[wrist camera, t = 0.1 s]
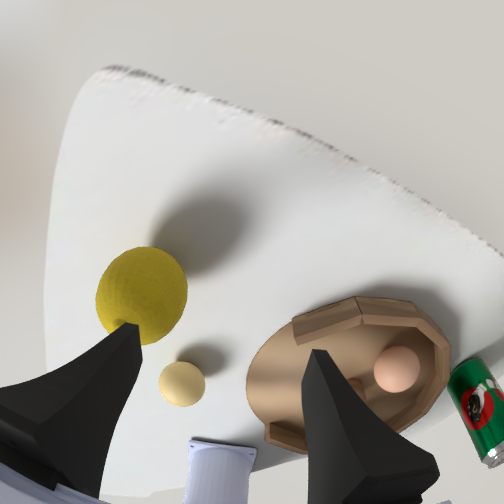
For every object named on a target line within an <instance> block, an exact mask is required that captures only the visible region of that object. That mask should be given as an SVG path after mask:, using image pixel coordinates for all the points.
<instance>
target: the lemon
mask: <svg viewBox="0 0 504 504" xmlns="http://www.w3.org/2000/svg"><path fill="white" fill-rule="evenodd" d="M187 289H188V286H187V281H186V277H185V273H184V271H183V269H182V268H181V266H180V264H179V263H178V262H177V261H176V260H175V258H174V257H172V256H171V255H170V254H168V253H167V252H165V251H163V250H161V249H158V248H154V247H137V248H134V249H131V250H128V251H126V252H124V253H123V254H121V255H120V256H119V257H117V258H116V259H114V260H113V261H112V262H111V264H110V265H109V266H108V268H107V269H106V271H105V272H104V274H103V275H102V277H101V280H100V282H99V286H98V289H97V293H96V310H97V314H98V317H99V319H100V321H101V323H102V325H103V327H104V328H105V329H106V330H107V332H108V333H109V334H111V333H112V332H113V331H115V330H116V329H117V328H119V327H120V326H121V325H123V324H124V323H125V322H127V323H132V324H137V325H139V331H140V341H141V345H148V344H151V343H154V342H157V341H158V340H160V339H161V338H163V337H164V336H166V335H167V334H168V333H169V332H170V331H171V330H172V329H173V328H174V326H175V325H176V323H177V322H178V321H179V319H180V318H181V316H182V314H183V311H184V308H185V305H186V302H187Z"/></svg>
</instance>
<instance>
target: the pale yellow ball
mask: <svg viewBox="0 0 504 504" xmlns="http://www.w3.org/2000/svg"><path fill="white" fill-rule="evenodd" d="M159 389H160V392H161V394H162V396H163V397H164V398H165V399H166V400H167V401H168V402H169V403H171V404H173V405H175V406H179V407H187V406H191V405H193V404H195V403H197V402H198V401H199V400H200V399H201V397H202V396H203V394H204V391H205V379H204V376H203V374H202V373H201V371H200V370H199V369H198V368H197V367H196V366H194V365H193V364H191V363H188V362H174V363H171V364H169V365H168V366H166V367H165V368H164V369H163V371H162V372H161V374H160V377H159Z"/></svg>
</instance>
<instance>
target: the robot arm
mask: <svg viewBox="0 0 504 504" xmlns="http://www.w3.org/2000/svg"><path fill="white" fill-rule="evenodd" d="M142 361H143V358H142V350H141V341H140V331H139V325H137V324H132V323H127V322H125V323H124V324H123V325H121V326H120V327H119V328H117V329H116V330H115V331H113V332H112V333H111V334H110V335H108V336H107V337H106V338H104V339H103V340H102V341H100V342H99V343H98V344H96V345H95V346H94V347H92V348H91V349H89V350H88V351H86V352H85V353H83V354H82V355H80V356H79V357H77V358H76V359H74V360H73V361H71V362H69V363H67V364H66V365H64V366H62V367H60V368H58V369H56V370H54V371H52V372H49V373H47V374H45V375H42V376H40V377H38V378H35V379H32V380H30V381H26V382H23V383H19V384H16V385H11V386H7V387H2V388H0V504H110V503H107V502H104V501H101V500H99V493H100V487H101V481H102V476H103V471H104V466H105V462H106V458H107V454H108V450H109V446H110V443H111V439H112V436H113V433H114V429H115V426H116V424H117V421H118V419H119V416H120V414H121V412H122V410H123V408H124V406H125V403H126V401H127V399H128V397H129V395H130V393H131V391H132V389H133V386H134V384H135V382H136V380H137V377H138V374H139V371H140V368H141V364H142ZM301 402H302V410H303V418H304V424H305V431H306V438H307V445H308V461H309V462H308V463H309V465H308V466H309V467H308V468H309V469H308V470H309V473H308V475H309V476H308V477H309V478H308V504H420V503H422V501H423V500H422V497H421V494H422V493H423V492H425V491H426V490H427V489H428V488H429V487H430V486H432V485H433V484H434V483H435V482H436V481H437V480H438V478H439V476H440V472H439V469H438V466H437V463H436V460H435V458H434V456H433V455H432V454H431V453H429V452H427V451H425V450H423V449H421V448H420V447H418V446H416V445H414V444H413V443H411V442H410V441H408V440H407V439H405V438H404V437H402V436H401V435H399V434H398V433H397V432H395V431H394V430H393V429H392V428H391V427H389V426H388V425H387V424H386V423H384V422H383V421H382V420H381V419H380V418H379V417H378V416H377V415H376V414H375V413H374V412H373V411H372V410H371V409H370V408H369V407H368V406H367V405H366V404H365V403H364V402H363V400H362V399H361V398H360V397H359V396H358V394H357V393H356V392H355V391H354V389H353V388H352V387H351V385H350V384H349V382H348V381H347V380H346V378H345V377H344V375H343V374H342V373H341V371H340V370H339V368H338V367H337V365H336V364H335V362H334V361H333V359H332V357H331V356H330V354H329V353H328V351H327V350H321V349H312V351H311V354H310V357H309V360H308V364H307V367H306V370H305V373H304V376H303V379H302V382H301ZM188 453H189V467H190V469H189V474H188V479H187V484H186V490H185V496H184V500H183V504H248V488H249V476H250V473H251V470H252V466H253V463H254V460H255V457H256V453H257V449H255V448H249V447H239V446H230V445H222V444H214V443H207V442H201V441H195V440H189V441H188ZM438 504H451V501H450V500H448V501H445V502H441V503H438Z"/></svg>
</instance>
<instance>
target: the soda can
mask: <svg viewBox="0 0 504 504" xmlns="http://www.w3.org/2000/svg"><path fill="white" fill-rule="evenodd" d="M447 390H448V392H449V394H450V396H451V398H452V400H453V402H454V404H455V406H456V408H457V410H458V412H459V414H460V416H461V418H462V420H463V422H464V424H465V426H466V428H467V430H468V433H469V435H470V437H471V439H472V441H473V444H474V446H475V448H476V450H477V452H478V455H479V457H480V460H481V462H482V463H484V464H486V465H488V468H490V469H491V468H494V467H496V466H499V465H500V464H502V463H504V393H503V391H502V389H501V388H500V386H499V385H498V383H497V381H496V380H495V378H494V377H493V375H492V374H491V372H490V371H489V369H488V368H487V366H486V365H485V363H484V362H483V361H482V360H481V359H469V360H467V361H465V362H463V363H461V364H460V365H459V366H458V367H456V368H455V369H454V371H453V372H452V373H451V375H450V378H449V382H448V383H447Z"/></svg>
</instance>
